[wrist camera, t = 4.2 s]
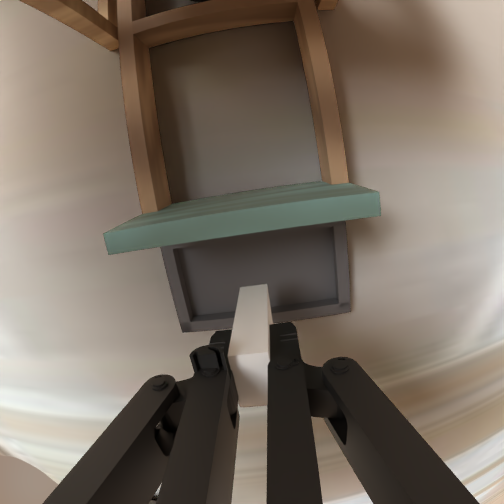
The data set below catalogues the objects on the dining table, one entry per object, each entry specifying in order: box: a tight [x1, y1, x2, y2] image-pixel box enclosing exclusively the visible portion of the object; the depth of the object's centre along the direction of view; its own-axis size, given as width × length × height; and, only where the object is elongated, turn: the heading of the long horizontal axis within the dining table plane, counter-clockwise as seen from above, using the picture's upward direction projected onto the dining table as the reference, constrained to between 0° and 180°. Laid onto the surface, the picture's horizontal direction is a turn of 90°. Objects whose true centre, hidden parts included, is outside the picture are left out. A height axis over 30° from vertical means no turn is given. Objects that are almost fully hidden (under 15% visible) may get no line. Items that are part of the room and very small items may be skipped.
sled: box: [103, 0, 381, 255], centre depth 13 cm, size 24×12×8 cm, turn 9°
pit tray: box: [161, 220, 351, 333], centre depth 21 cm, size 7×12×2 cm, turn 99°
